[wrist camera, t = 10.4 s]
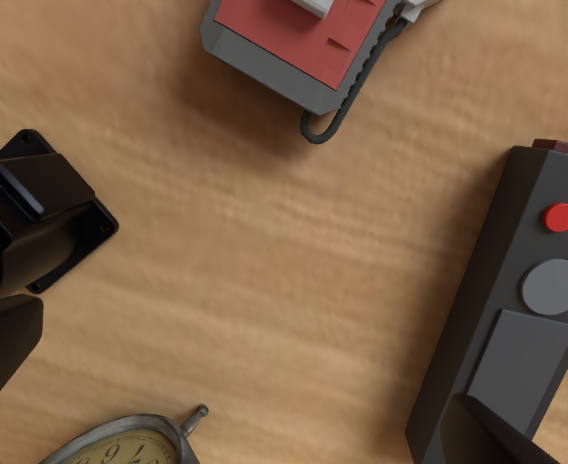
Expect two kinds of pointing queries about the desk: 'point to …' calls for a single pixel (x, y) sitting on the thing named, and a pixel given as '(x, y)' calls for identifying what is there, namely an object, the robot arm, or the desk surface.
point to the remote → (507, 306)
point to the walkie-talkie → (306, 47)
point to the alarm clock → (132, 442)
